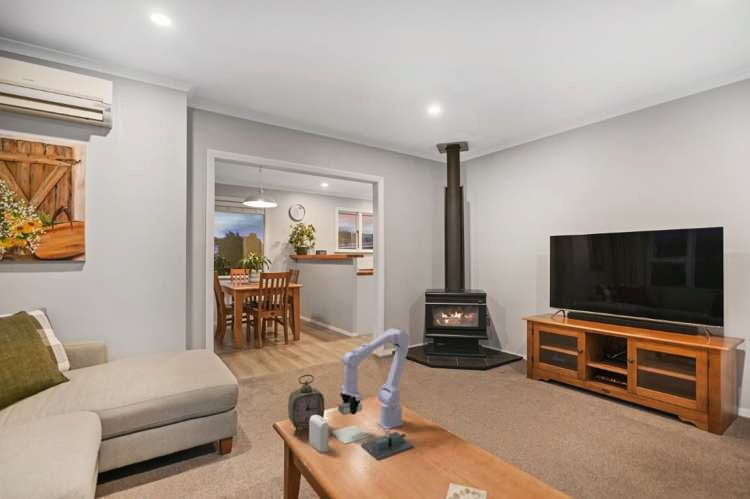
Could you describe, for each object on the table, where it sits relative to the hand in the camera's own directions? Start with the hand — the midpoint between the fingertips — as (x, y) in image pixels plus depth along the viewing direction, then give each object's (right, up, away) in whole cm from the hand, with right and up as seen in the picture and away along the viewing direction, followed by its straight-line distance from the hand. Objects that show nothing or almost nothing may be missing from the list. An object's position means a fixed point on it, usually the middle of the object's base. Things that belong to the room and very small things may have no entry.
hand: (350, 411), depth 165 cm
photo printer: (-12, -10, -11) cm, 19 cm away
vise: (+16, -11, -10) cm, 21 cm away
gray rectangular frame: (0, 0, 0) cm, 0 cm away
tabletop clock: (-20, -10, +3) cm, 23 cm away
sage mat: (0, -10, 0) cm, 10 cm away
